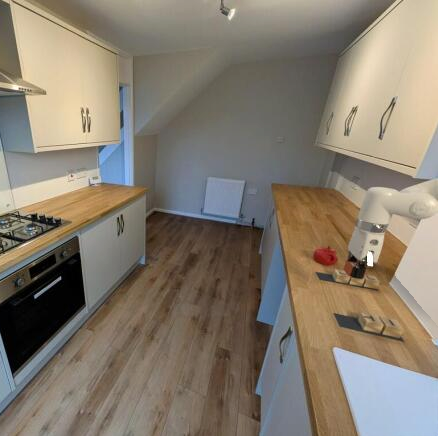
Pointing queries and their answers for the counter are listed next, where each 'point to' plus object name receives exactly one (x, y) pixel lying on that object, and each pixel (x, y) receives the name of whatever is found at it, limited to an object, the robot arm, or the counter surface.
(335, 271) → the tile
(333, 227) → the counter surface
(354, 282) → the wooden letter cube
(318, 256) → the pomegranate
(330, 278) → the word mat
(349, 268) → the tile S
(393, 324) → the tile
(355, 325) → the word mat
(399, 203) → the robot arm
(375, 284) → the light wood cube
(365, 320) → the tan wooden cube
